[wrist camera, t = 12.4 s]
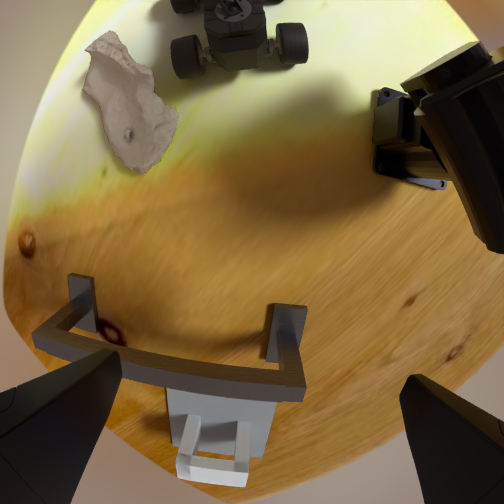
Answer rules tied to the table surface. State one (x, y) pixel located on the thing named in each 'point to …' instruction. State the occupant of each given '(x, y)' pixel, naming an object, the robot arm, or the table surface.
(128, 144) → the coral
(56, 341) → the stand
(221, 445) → the mat
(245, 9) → the toy vehicle
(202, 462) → the c link
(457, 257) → the table surface
